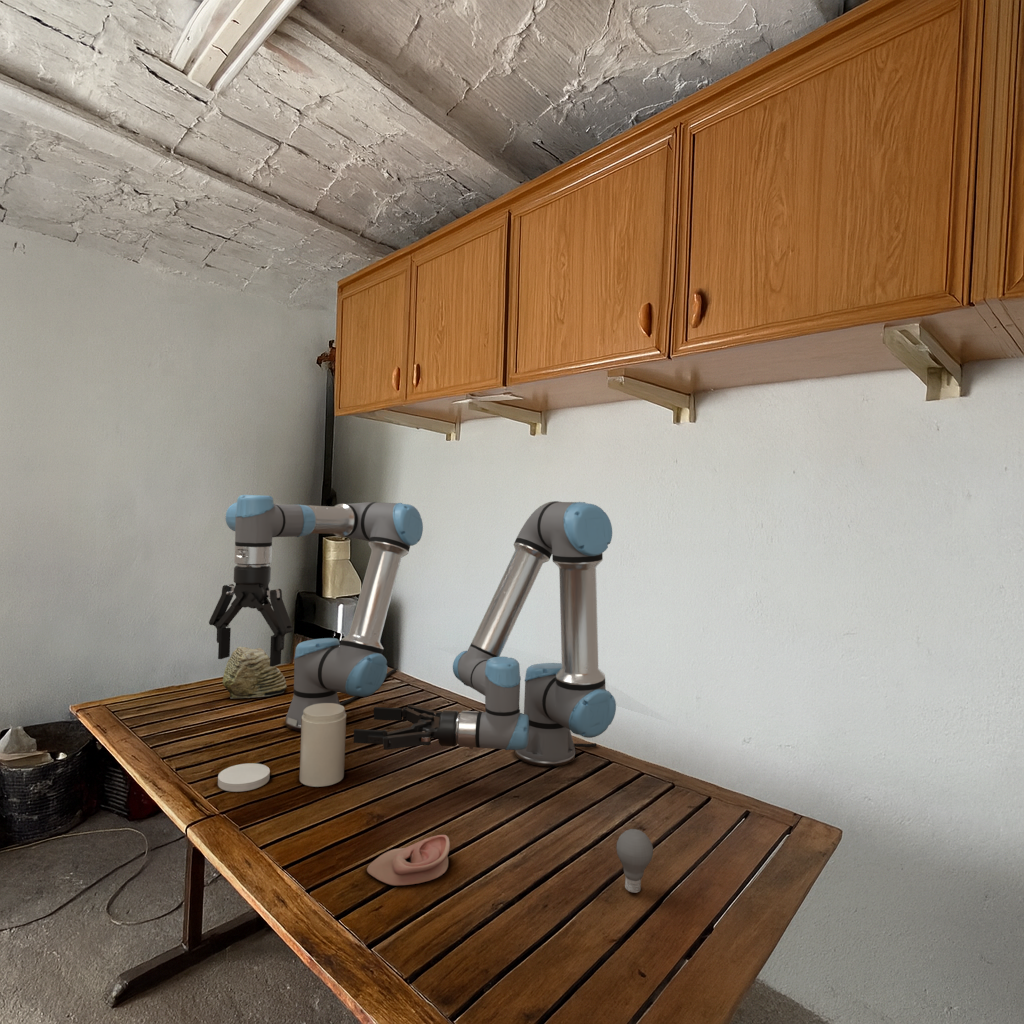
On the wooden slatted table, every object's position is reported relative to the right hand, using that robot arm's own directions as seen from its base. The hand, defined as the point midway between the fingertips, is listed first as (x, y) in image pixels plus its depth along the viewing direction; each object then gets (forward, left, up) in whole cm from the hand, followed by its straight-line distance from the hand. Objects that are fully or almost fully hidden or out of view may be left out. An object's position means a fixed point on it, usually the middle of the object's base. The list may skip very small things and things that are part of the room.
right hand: (364, 724), depth 141 cm
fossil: (+26, -69, -13) cm, 75 cm away
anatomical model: (-4, +36, -13) cm, 38 cm away
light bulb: (-39, +52, -13) cm, 66 cm away
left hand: (+25, -7, +13) cm, 29 cm away
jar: (+9, -4, -13) cm, 16 cm away
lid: (+25, -7, -12) cm, 28 cm away
